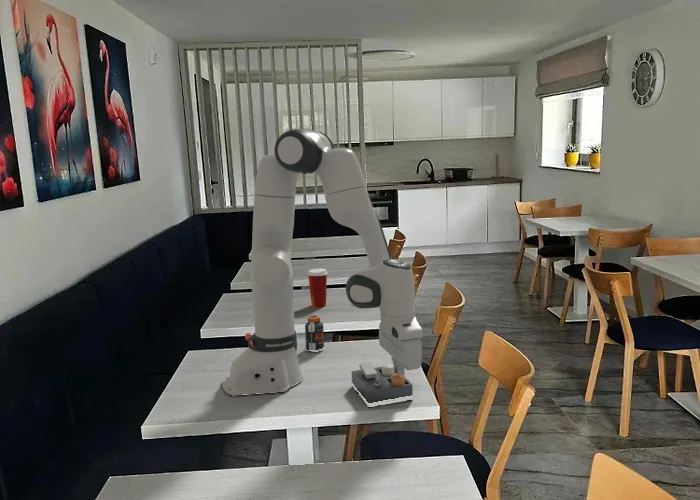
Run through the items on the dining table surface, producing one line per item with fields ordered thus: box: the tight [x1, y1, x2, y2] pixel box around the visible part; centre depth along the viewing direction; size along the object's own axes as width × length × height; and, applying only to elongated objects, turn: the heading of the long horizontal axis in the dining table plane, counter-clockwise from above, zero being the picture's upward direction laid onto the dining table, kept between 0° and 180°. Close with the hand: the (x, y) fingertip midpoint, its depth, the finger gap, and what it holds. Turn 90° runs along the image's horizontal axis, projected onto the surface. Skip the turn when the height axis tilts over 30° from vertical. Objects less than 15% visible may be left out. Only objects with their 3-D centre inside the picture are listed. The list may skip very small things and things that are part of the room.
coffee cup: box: [307, 268, 328, 309], centre depth 238 cm, size 8×8×15 cm
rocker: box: [359, 361, 377, 379], centre depth 155 cm, size 3×6×1 cm, turn 17°
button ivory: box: [381, 363, 395, 376], centre depth 157 cm, size 4×4×4 cm
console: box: [351, 366, 413, 403], centre depth 153 cm, size 12×14×8 cm
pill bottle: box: [304, 314, 325, 351], centre depth 187 cm, size 6×6×11 cm
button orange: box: [391, 373, 406, 386], centre depth 151 cm, size 4×4×4 cm
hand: (399, 373), depth 150 cm, fingers closed
